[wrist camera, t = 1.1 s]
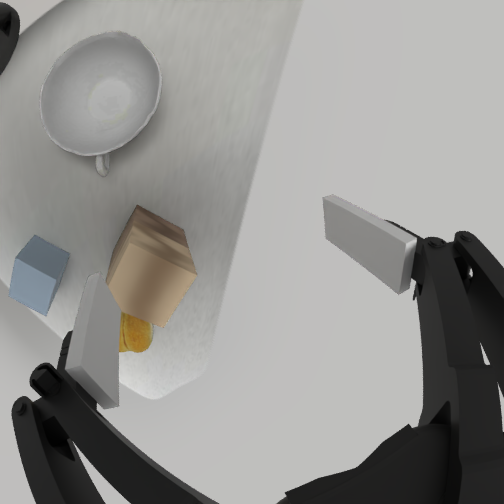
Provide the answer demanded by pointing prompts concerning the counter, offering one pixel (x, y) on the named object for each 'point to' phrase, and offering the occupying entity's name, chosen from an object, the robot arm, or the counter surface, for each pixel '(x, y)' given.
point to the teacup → (100, 95)
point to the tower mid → (150, 275)
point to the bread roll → (134, 334)
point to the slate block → (37, 274)
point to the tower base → (154, 224)
